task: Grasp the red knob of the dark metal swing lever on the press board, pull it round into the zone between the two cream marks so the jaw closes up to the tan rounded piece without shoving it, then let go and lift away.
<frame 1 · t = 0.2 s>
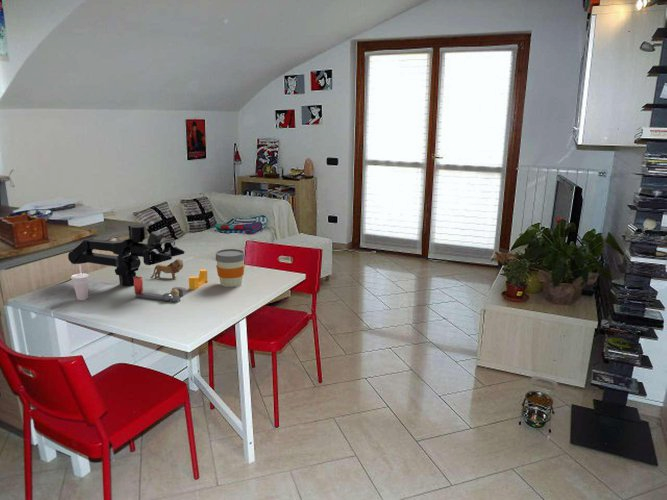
hand: (178, 255, 205), 16 cm above the table, tool horizontal, fingers open, 9 cm apart
reusable coffee cup: (231, 285, 220), on the table
tan rounded piece: (175, 297, 201), point 1 cm above the table, touching press board
lever: (156, 289, 198), point 5 cm above the table, hinge at 0.0°
smoothie: (82, 299, 201), on the table
press board: (146, 302, 198), on the table
pipe clamp: (196, 288, 216), on the table
lion figurine: (168, 278, 227), on the table
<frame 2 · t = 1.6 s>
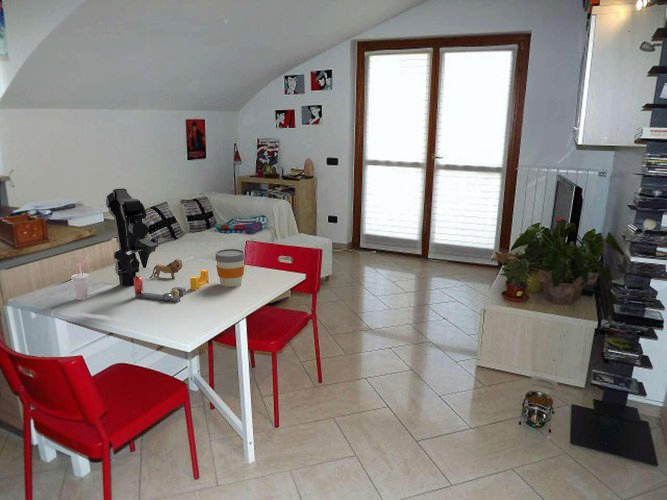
hand: (137, 271, 198), 12 cm above the table, tool pointing down, fingers open, 9 cm apart
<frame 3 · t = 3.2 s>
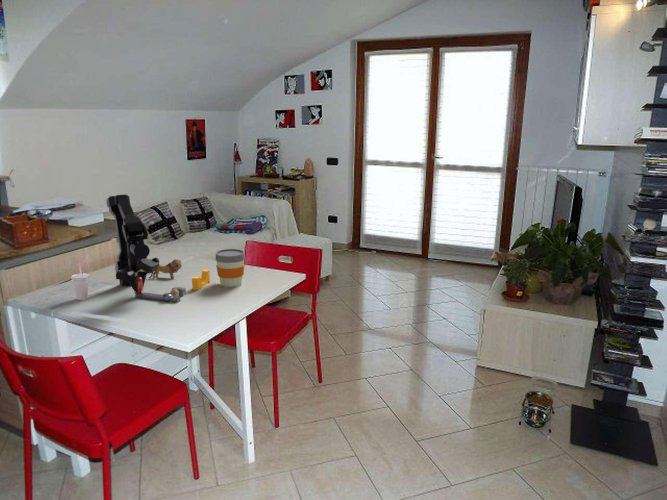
hand: (138, 290, 200), 4 cm above the table, tool pointing down, fingers closed on lever, 3 cm apart
lever: (156, 289, 198), point 5 cm above the table, hinge at 0.0°, touching gripper
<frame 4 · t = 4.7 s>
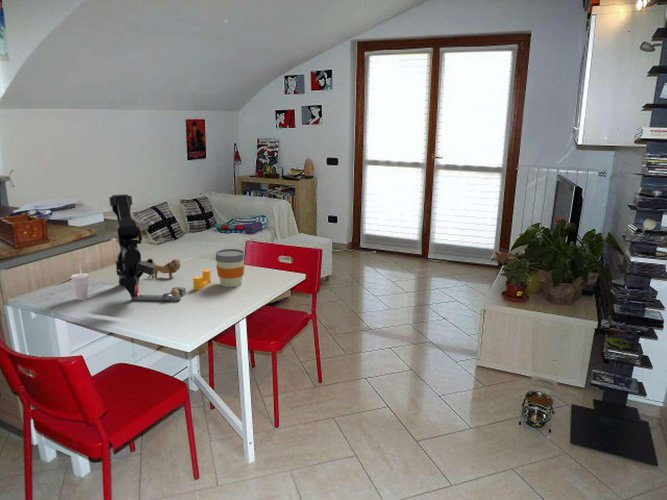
hand: (134, 294, 196), 4 cm above the table, tool pointing down, fingers open, 5 cm apart
lever: (154, 290, 196), point 5 cm above the table, hinge at 14.9°, touching gripper
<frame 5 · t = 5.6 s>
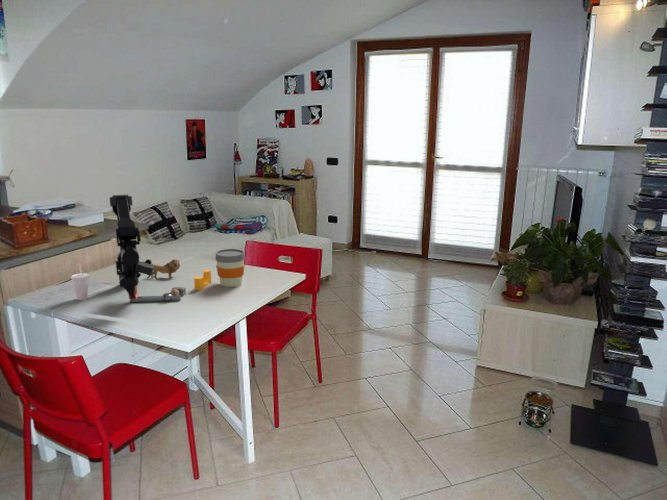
hand: (133, 295, 194), 4 cm above the table, tool pointing down, fingers open, 4 cm apart
lever: (154, 291, 196), point 5 cm above the table, hinge at 23.7°, touching gripper
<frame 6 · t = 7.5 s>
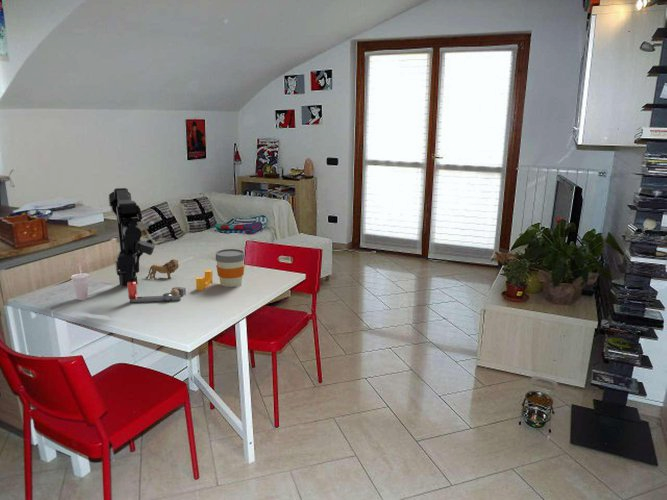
hand: (133, 274, 194), 12 cm above the table, tool pointing down, fingers open, 9 cm apart
lever: (154, 291, 196), point 5 cm above the table, hinge at 25.5°
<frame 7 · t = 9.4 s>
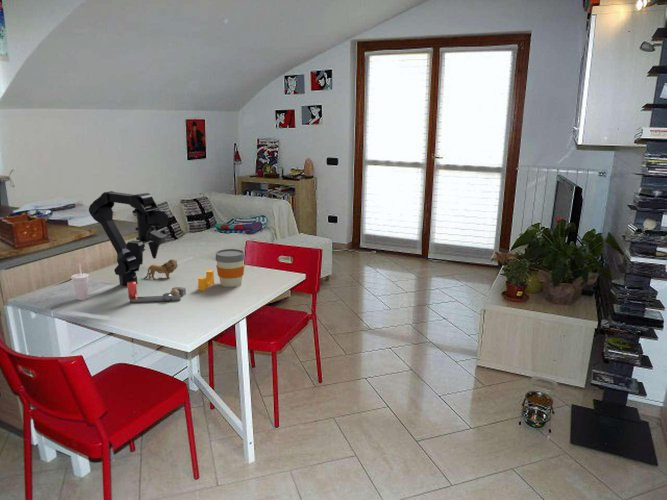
hand: (147, 261, 207), 13 cm above the table, tool pointing down, fingers open, 9 cm apart
at the end: lever at +26° (first picture: +0°); tan rounded piece moved 0.1 cm from its start; the gripper is holding nothing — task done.
